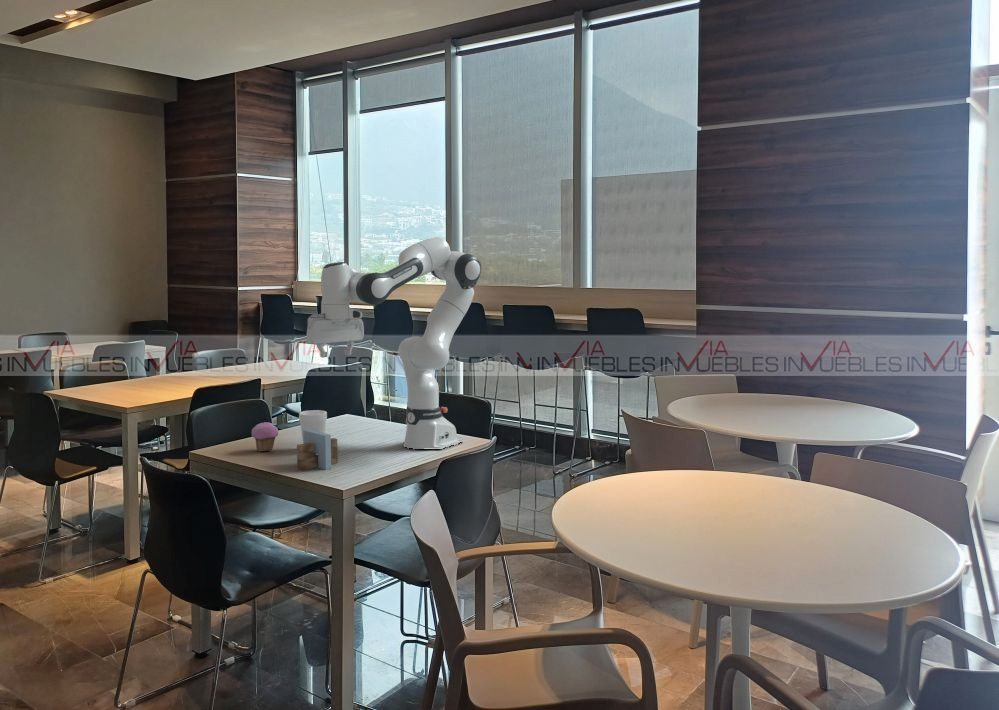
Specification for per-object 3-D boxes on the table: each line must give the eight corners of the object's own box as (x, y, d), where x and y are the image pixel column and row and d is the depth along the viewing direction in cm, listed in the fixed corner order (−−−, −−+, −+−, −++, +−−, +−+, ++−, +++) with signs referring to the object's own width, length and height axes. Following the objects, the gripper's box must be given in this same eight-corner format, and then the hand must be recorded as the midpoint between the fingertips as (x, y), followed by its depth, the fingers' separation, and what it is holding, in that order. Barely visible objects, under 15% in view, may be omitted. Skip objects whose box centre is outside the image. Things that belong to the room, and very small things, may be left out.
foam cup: (330, 446, 279) (330, 410, 277) (322, 452, 270) (321, 415, 268) (305, 445, 280) (304, 410, 278) (295, 451, 270) (295, 414, 269)
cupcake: (274, 446, 278) (273, 419, 277) (281, 451, 270) (281, 423, 269) (248, 449, 273) (247, 421, 272) (255, 454, 266) (255, 425, 264)
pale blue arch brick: (303, 463, 255) (303, 430, 253) (309, 462, 256) (308, 429, 255) (325, 470, 247) (325, 435, 245) (331, 468, 248) (330, 434, 247)
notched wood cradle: (334, 461, 257) (333, 438, 256) (337, 462, 256) (337, 438, 255) (297, 469, 247) (296, 444, 246) (301, 470, 245) (300, 445, 244)
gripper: (313, 314, 240) (314, 359, 242) (366, 312, 256) (367, 354, 257) (301, 313, 245) (302, 357, 246) (354, 311, 260) (355, 353, 261)
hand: (336, 356), depth 252 cm, fingers open, 8 cm apart
